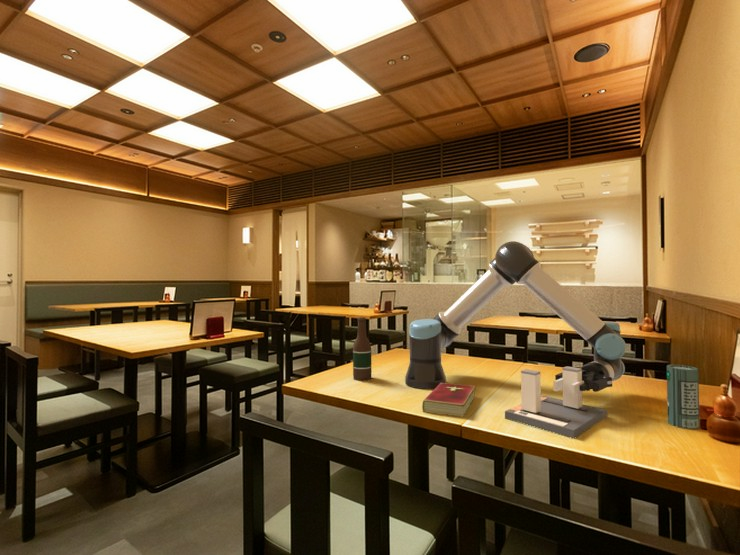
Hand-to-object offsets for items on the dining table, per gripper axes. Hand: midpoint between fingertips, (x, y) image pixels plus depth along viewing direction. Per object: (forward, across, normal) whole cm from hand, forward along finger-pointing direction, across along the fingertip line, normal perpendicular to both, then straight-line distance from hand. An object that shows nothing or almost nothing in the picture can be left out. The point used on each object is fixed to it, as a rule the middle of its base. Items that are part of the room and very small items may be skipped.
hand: (563, 388), depth 103 cm
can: (-19, -22, -9) cm, 30 cm away
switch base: (+1, +2, -8) cm, 9 cm away
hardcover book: (+13, +29, -9) cm, 33 cm away
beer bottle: (+13, +72, -9) cm, 73 cm away
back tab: (-5, 0, -6) cm, 8 cm away
